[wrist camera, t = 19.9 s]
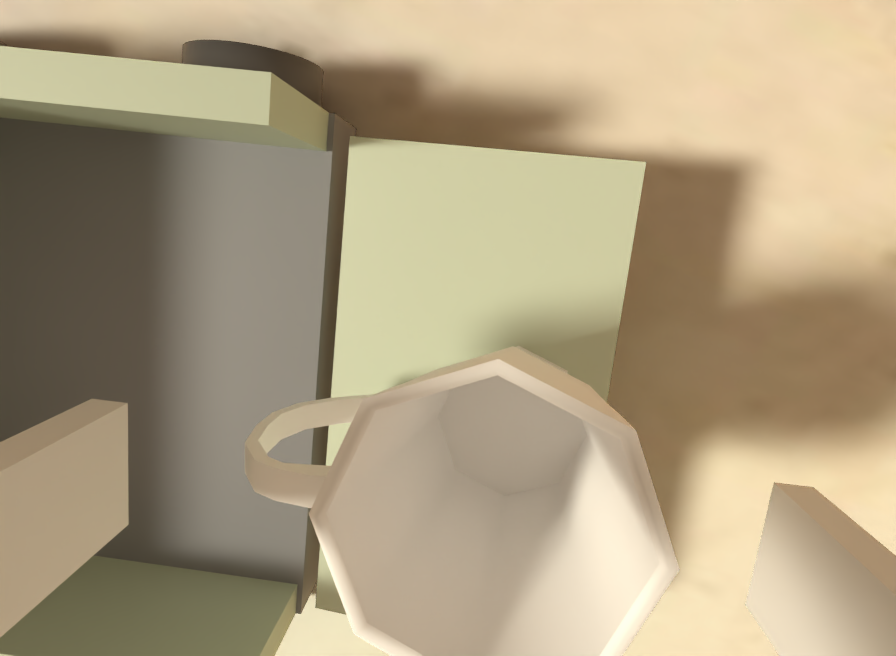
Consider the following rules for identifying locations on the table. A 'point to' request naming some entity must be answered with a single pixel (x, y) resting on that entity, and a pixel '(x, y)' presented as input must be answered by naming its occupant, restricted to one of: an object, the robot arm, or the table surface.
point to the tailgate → (476, 266)
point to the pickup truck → (173, 324)
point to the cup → (480, 511)
